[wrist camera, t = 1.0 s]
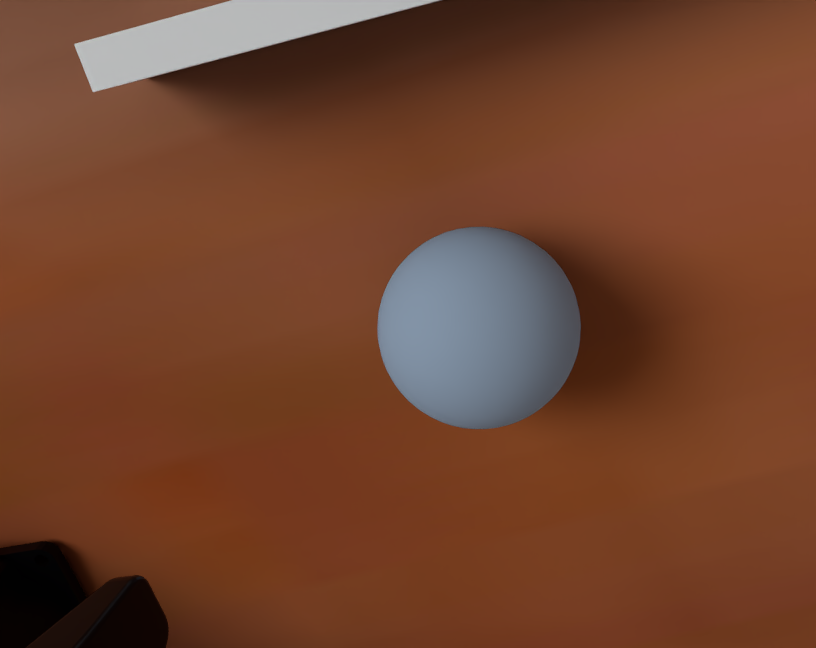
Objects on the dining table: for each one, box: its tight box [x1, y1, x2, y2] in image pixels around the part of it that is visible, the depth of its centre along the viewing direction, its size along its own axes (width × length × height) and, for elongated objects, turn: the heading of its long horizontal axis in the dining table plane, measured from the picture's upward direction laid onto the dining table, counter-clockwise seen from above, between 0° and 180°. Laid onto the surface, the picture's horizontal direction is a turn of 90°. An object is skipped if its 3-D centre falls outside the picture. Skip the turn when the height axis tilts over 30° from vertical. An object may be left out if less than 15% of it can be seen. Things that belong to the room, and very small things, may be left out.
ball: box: [378, 227, 581, 429], centre depth 18 cm, size 5×5×5 cm
